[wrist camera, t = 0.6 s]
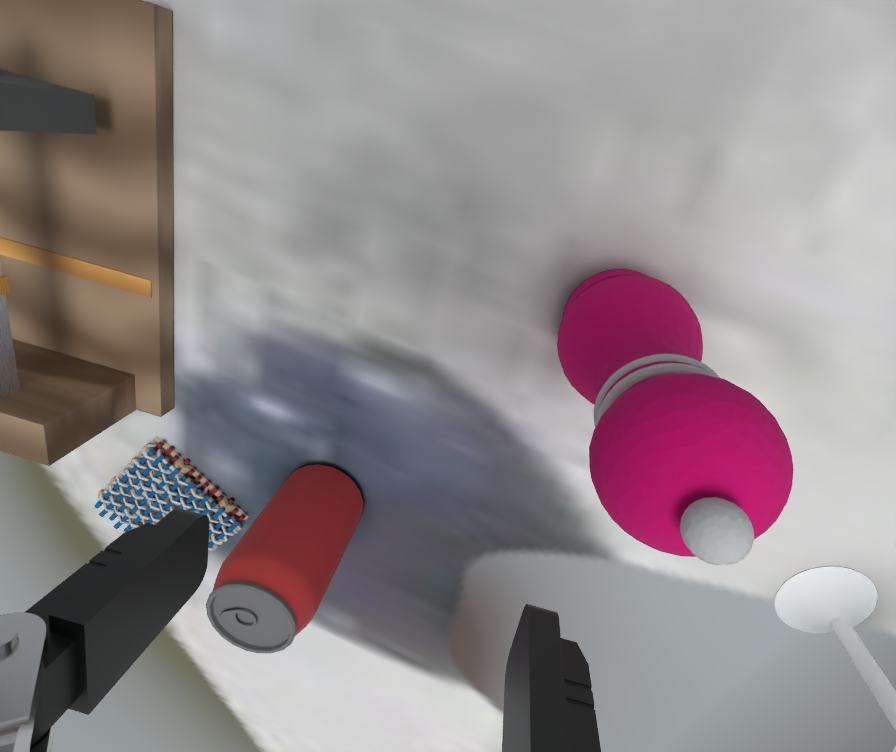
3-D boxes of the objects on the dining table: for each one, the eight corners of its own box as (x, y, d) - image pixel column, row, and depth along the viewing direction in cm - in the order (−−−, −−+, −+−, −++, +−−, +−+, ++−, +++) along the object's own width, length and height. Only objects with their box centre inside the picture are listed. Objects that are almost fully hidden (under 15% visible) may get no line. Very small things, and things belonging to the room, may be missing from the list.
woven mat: (258, 513, 43) (246, 529, 41) (191, 565, 47) (177, 582, 45) (163, 428, 41) (146, 441, 39) (101, 490, 45) (82, 504, 43)
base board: (-60, -50, 28) (-298, -130, 20) (172, 11, 28) (22, -47, 20) (7, 358, 40) (-129, 411, 31) (174, 407, 39) (78, 475, 31)
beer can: (280, 457, 39) (184, 573, 28) (361, 462, 38) (293, 584, 27) (294, 524, 42) (211, 653, 31) (370, 530, 41) (310, 666, 30)
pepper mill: (530, 325, 32) (525, 552, 14) (613, 234, 29) (745, 370, 11) (615, 393, 33) (713, 688, 15) (704, 311, 30) (963, 556, 12)
